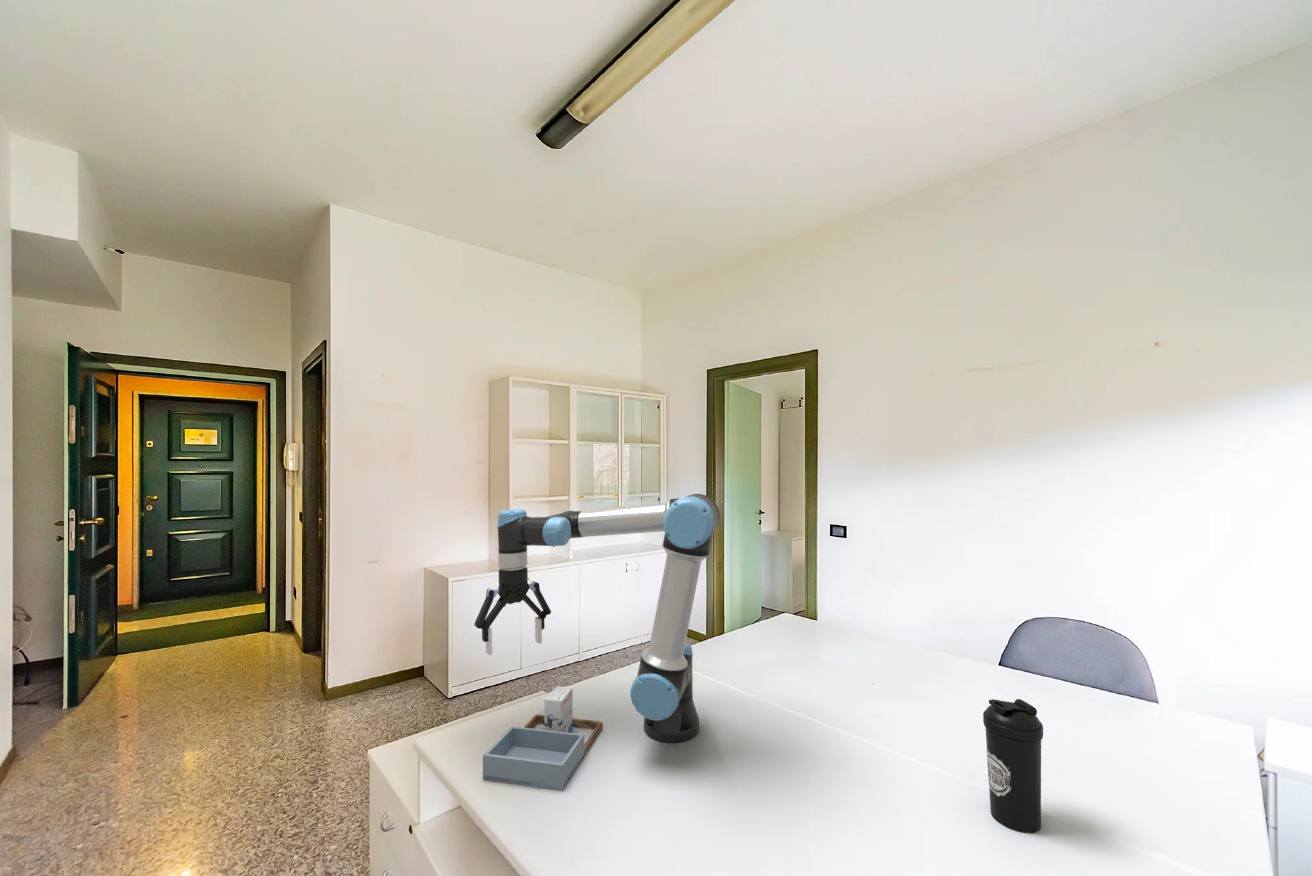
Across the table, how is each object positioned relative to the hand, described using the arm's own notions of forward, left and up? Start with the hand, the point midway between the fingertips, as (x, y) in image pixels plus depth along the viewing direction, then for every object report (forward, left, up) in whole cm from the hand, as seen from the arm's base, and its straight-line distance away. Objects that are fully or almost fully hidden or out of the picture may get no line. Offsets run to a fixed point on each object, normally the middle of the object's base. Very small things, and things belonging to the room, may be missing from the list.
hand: (514, 647), depth 144 cm
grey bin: (-12, +13, -23) cm, 29 cm away
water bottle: (-115, +9, -23) cm, 118 cm away
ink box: (-12, -1, -23) cm, 26 cm away
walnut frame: (-12, -1, -23) cm, 26 cm away
